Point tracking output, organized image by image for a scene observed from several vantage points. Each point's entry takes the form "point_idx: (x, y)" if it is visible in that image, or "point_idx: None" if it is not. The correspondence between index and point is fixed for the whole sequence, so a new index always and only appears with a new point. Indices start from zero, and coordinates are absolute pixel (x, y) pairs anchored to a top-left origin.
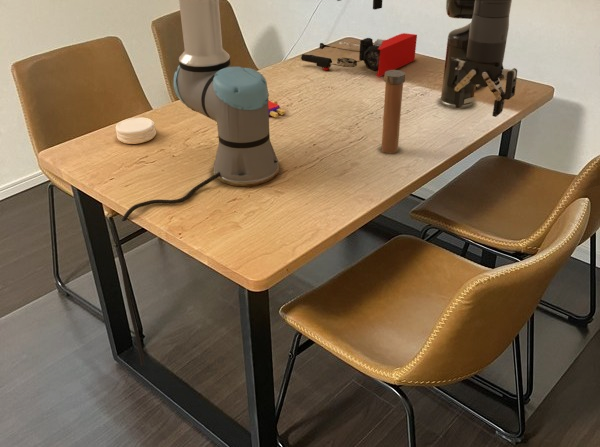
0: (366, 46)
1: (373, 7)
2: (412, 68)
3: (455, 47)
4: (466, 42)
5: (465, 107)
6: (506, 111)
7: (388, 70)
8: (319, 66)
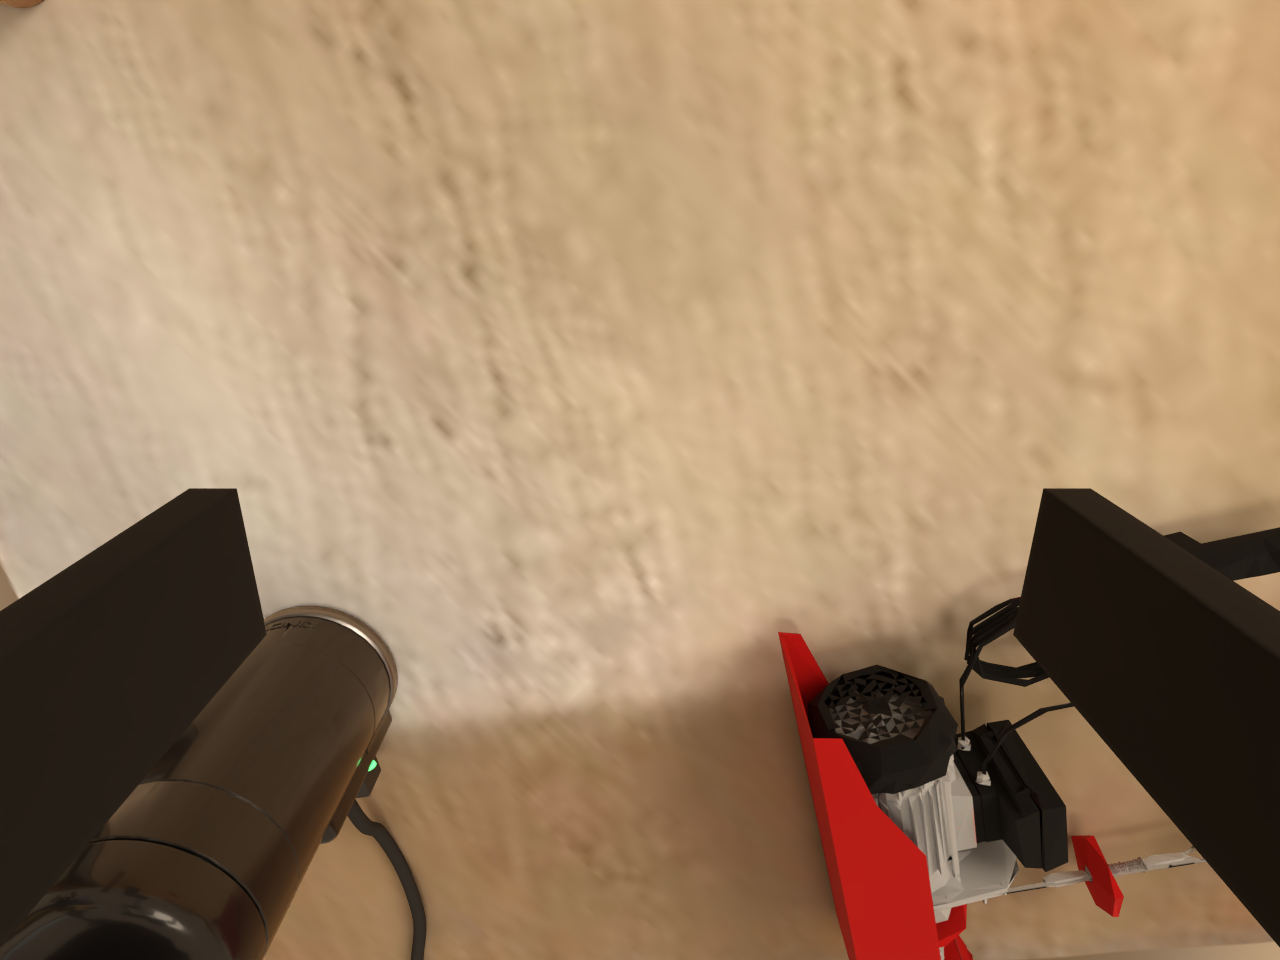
0: (1006, 793)
1: (206, 500)
2: (775, 844)
3: (111, 836)
4: None
5: None
6: None
7: (798, 725)
8: None
